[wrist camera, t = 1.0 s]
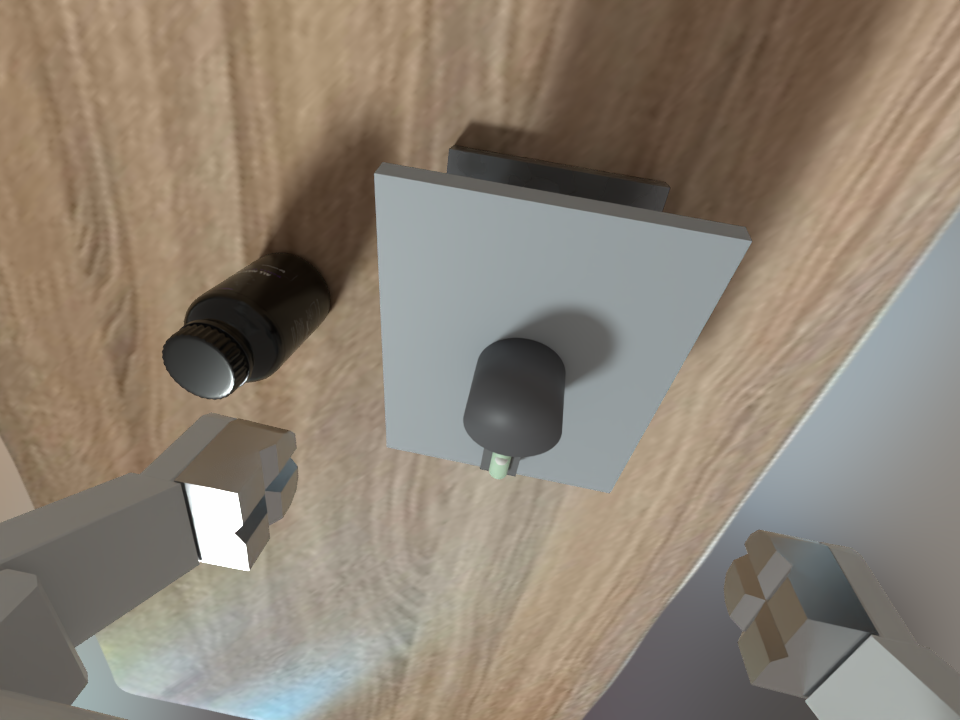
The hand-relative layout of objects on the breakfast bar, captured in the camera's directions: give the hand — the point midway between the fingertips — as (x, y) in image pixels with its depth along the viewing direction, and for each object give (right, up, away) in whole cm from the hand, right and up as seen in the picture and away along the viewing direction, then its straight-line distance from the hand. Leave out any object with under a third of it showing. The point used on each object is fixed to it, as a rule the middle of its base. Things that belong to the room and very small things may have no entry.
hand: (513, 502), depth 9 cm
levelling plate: (+2, +3, +20) cm, 20 cm away
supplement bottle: (-16, +8, +31) cm, 36 cm away
